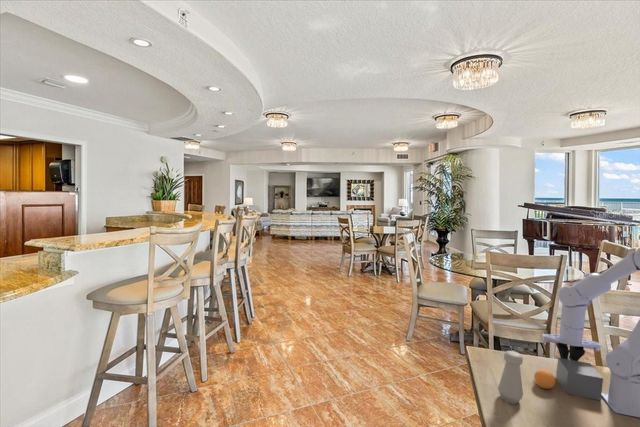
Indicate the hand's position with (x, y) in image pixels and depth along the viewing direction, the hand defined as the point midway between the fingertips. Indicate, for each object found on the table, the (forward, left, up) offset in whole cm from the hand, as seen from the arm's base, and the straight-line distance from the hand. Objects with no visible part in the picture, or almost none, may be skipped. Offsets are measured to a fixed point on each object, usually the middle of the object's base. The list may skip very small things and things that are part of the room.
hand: (567, 367), depth 102 cm
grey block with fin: (0, +5, -2) cm, 5 cm away
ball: (+9, +11, +1) cm, 14 cm away
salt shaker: (+20, +21, -2) cm, 29 cm away
